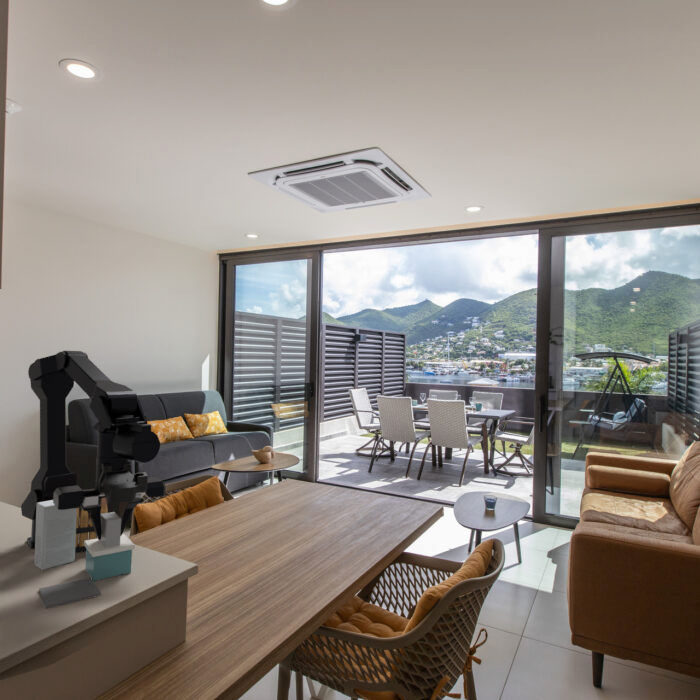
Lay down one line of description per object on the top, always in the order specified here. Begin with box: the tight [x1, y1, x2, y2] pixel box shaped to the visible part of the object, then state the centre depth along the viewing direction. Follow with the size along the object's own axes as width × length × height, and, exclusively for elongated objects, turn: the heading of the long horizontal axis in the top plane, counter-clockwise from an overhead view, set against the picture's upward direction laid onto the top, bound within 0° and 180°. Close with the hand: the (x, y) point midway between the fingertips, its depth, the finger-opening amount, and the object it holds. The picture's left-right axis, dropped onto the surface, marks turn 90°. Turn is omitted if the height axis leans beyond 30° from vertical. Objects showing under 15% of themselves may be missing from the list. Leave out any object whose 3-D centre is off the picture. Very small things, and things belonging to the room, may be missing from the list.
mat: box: [38, 576, 102, 609], centre depth 86 cm, size 8×8×1 cm
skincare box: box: [34, 500, 77, 571], centre depth 98 cm, size 6×4×12 cm
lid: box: [84, 511, 136, 557], centre depth 96 cm, size 7×7×6 cm
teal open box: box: [84, 548, 133, 582], centre depth 95 cm, size 6×6×4 cm
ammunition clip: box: [75, 498, 109, 554], centre depth 104 cm, size 11×2×12 cm, turn 120°
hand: (109, 537), depth 95 cm, fingers open, 3 cm apart
